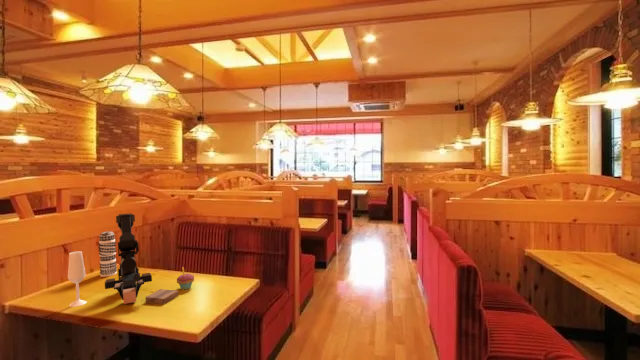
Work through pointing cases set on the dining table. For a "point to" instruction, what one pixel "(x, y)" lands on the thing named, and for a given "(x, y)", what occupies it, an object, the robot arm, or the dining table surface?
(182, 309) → the dining table surface
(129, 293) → the cube
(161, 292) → the base
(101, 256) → the decorative candle
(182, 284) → the cupcake
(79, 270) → the champagne flute
